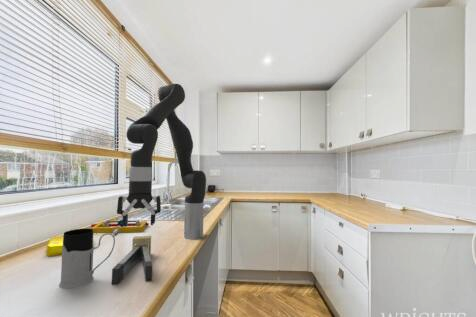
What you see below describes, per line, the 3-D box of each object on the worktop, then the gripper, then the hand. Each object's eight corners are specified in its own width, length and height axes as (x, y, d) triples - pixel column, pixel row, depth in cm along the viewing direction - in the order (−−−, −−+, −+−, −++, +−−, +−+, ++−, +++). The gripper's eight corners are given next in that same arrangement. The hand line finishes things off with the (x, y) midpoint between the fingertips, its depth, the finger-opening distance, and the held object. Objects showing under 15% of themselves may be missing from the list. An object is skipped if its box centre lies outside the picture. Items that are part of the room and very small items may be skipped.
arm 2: (141, 258, 90) (142, 246, 90) (146, 257, 91) (147, 245, 91) (145, 281, 72) (146, 266, 72) (151, 280, 73) (152, 265, 73)
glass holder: (63, 278, 74) (65, 229, 74) (114, 270, 79) (116, 225, 80) (54, 292, 66) (57, 237, 66) (112, 282, 71) (114, 232, 72)
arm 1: (134, 258, 90) (135, 246, 90) (139, 258, 90) (140, 246, 90) (111, 284, 70) (112, 269, 70) (118, 284, 70) (118, 268, 70)
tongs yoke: (135, 255, 93) (136, 243, 93) (148, 254, 94) (148, 242, 94) (134, 258, 90) (134, 246, 90) (147, 257, 91) (147, 245, 92)
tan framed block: (133, 255, 93) (133, 236, 93) (150, 253, 94) (151, 235, 95) (132, 257, 90) (132, 238, 90) (150, 256, 92) (150, 237, 92)
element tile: (91, 241, 111) (92, 231, 111) (91, 251, 98) (92, 239, 98) (51, 246, 103) (51, 235, 103) (45, 258, 90) (45, 245, 90)
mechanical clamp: (93, 217, 134) (149, 216, 140) (93, 228, 134) (148, 226, 140) (78, 224, 116) (142, 223, 122) (77, 237, 116) (142, 235, 122)
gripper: (162, 179, 90) (160, 222, 90) (121, 179, 87) (119, 223, 86) (161, 180, 83) (159, 227, 83) (116, 180, 80) (114, 229, 79)
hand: (139, 225), depth 84 cm, fingers open, 8 cm apart
